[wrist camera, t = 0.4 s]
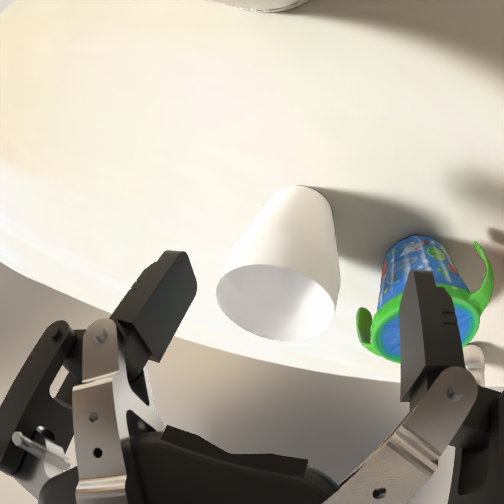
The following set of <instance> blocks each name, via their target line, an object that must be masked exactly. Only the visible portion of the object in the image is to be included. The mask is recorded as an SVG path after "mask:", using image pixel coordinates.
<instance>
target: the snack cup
mask: <svg viewBox="0 0 504 504" xmlns="http://www.w3.org/2000/svg"><path fill="white" fill-rule="evenodd" d="M473 244H474V246H475V248H476V250H477V252H478V254H479V256H480V257H481V258H482V259H483V260H484V262H485V265H486V276H485V278H484V280H483V283H482V285H481V287H480V289H479V290H478V291H477V292H474V293H470V291H469V290H468V288H467V287H466V285H465V283H464V282H463V280H462V279H461V278H460V276H459V274H458V272H457V269H456V268H455V266H454V264H453V262H452V260H451V258H450V256H449V255H448V253H447V251H446V250H445V248H444V247H443V245H442V244H441V243H439V242H437V241H436V240H435V239H432V238H430V237H427V236H418V235H410V237H408V238H406V239H404V240H401V241H400V242H398V243H397V244H396V245H395V246H394V247H393V248H392V249H391V250H389V251H388V252H387V254H386V257H385V260H384V264H383V270H382V278H381V286H380V288H381V289H380V294H379V300H378V307H377V313H376V314H375V315H374V318H373V322H372V316H371V313H370V312H369V311H368V310H367V309H366V308H363V307H361V308H359V309H358V311H357V315H356V326H357V334H358V338H359V341H360V342H361V344H362V345H363V346H364V347H365V348H367V349H368V350H369V351H371V352H373V353H374V354H376V355H378V356H382V357H384V358H385V359H387V360H390V361H393V362H396V363H401V355H400V331H399V306H400V301H401V298H402V295H403V291H404V288H405V285H406V281H407V278H408V274H409V271H410V270H411V269H414V270H429V271H432V273H433V276H434V280H435V284H436V287H444V288H445V289H446V291H447V292H448V294H449V295H450V296H451V298H452V300H453V304H454V308H455V315H456V317H457V322H458V323H457V325H458V327H459V332H460V337H461V342H462V348H463V347H465V346H466V345H467V344H468V343H469V342H470V341H471V340H472V338H473V337H474V336H475V334H476V332H477V330H478V327H479V323H480V316H481V314H482V312H483V311H484V309H485V308H486V306H487V304H488V303H489V302H490V297H491V294H492V291H493V282H494V277H493V271H492V267H491V265H490V262H489V261H488V259H487V257H486V255H485V253H484V251H483V249H482V248H481V246H480V245H479V244H478V243H477V242H476V241H475V242H474V243H473ZM371 325H372V328H371ZM370 340H371V343H370Z"/></svg>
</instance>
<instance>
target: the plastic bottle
mask: <svg viewBox="0 0 504 504" xmlns="http://www.w3.org/2000/svg"><path fill="white" fill-rule="evenodd" d="M463 354H464V361H465V366H466V370H468V371H469V372H470V373H471V374H472V375H473V376H474V378H475V379H476V382H477V384H478V385H480V386H482V387H485V381H484V368H485V360H484V354H483V352H482V349H481V348H480V347H478V346H477V345H467V346H465V347H463ZM455 448H456V447H455Z"/></svg>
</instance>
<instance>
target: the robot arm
mask: <svg viewBox="0 0 504 504" xmlns="http://www.w3.org/2000/svg"><path fill="white" fill-rule="evenodd" d="M207 1H212V2H217V3H221V4H226V5H230V6H234V7H238V8H241V9H244V10H249V11H256V12H263V13H266V12H280V11H285V10H289V9H292V8H295V7H298V6H300V5H302V4H303V3H305V2H307V1H309V0H207ZM196 291H197V281H196V278H195V275H194V272H193V269H192V266H191V263H190V260H189V257H188V255H187V253H186V252H183V251H170V250H167V251H165V252H164V253H163V254H162V255H161V257H160V258H159V259H158V261H157V262H154V263H153V264H151V265H150V266H149V267H148V268H146V269H145V270H144V271H143V272H142V274H141V275H140V276H139V278H138V279H137V282H135V283H134V284H133V286H132V287H131V290H129V291H128V293H127V294H126V295H125V297H124V298H123V300H122V301H121V302H120V304H119V305H118V307H117V308H116V309H115V311H114V312H113V314H112V315H111V317H110V318H109V319H107V318H103V319H99V320H97V321H95V322H93V323H92V324H91V325H90V326H89V327H88V328H87V329H84V330H72V328H71V327H70V326H69V324H68V323H67V322H66V321H63V320H60V321H56V322H54V323H52V324H51V325H50V326H49V327H48V328H47V329H46V330H45V332H44V333H43V335H42V336H41V338H40V339H39V341H38V343H37V344H36V346H35V347H34V349H33V351H32V352H31V354H30V355H29V357H28V358H27V360H26V362H25V363H24V365H23V367H22V368H21V370H20V372H19V373H18V375H17V377H16V379H15V380H14V382H13V384H12V386H11V388H10V390H9V391H8V393H7V395H6V397H5V399H4V401H3V403H2V404H1V406H0V470H1V471H2V472H4V473H5V474H7V475H9V476H11V477H13V478H15V479H16V480H17V481H18V482H19V483H20V484H21V485H22V486H23V487H24V488H25V489H26V490H27V491H28V492H30V493H31V494H32V495H33V496H34V497H35V498H36V499H38V504H408V503H409V502H410V501H411V500H412V499H413V498H414V496H415V495H416V494H417V493H418V492H419V491H420V490H421V488H422V487H423V486H424V485H425V484H426V482H427V481H428V480H429V479H430V477H431V476H432V475H433V473H434V472H435V470H436V468H437V467H438V459H439V457H440V456H441V454H442V453H443V451H444V450H445V449H446V447H447V446H448V445H450V446H454V447H456V450H455V459H454V468H453V475H452V482H451V489H450V494H449V500H448V504H504V391H503V392H502V393H501V392H498V391H495V390H491V389H488V388H485V387H482V386H480V385H478V384H477V382H476V379H475V378H474V376H473V375H472V374H471V373H470V372H469V371H468V370H466V366H465V361H464V354H463V348H462V342H461V337H460V332H459V327H458V325H457V323H458V322H457V317H456V315H455V308H454V304H453V300H452V298H451V296H450V295H449V294H448V292H447V291H446V289H445V288H444V287H436V284H435V280H434V276H433V273H432V271H429V270H414V269H411V270H410V271H409V274H408V278H407V281H406V285H405V288H404V291H403V295H402V298H401V301H400V306H399V331H400V355H401V396H400V401H401V402H410V412H409V413H408V414H407V416H406V417H405V418H404V419H403V420H402V421H401V423H400V424H399V425H398V426H397V427H396V428H395V430H394V431H393V432H392V433H391V434H390V435H389V436H388V437H387V438H386V440H385V441H384V442H383V443H382V444H381V445H380V446H379V447H378V448H377V449H376V450H375V451H374V452H373V453H372V454H371V455H370V456H369V457H368V458H367V459H366V460H365V461H364V462H363V463H362V464H361V465H360V466H359V467H358V468H357V469H355V470H354V471H353V472H352V473H351V474H350V475H349V476H348V477H347V478H346V479H345V480H343V481H342V482H341V483H340V484H339V485H337V483H336V482H335V481H334V480H333V479H331V478H330V477H329V476H328V475H326V474H325V473H323V472H322V471H320V470H318V469H316V468H314V467H311V466H309V465H307V463H308V460H306V459H300V458H293V457H287V456H280V455H275V454H230V453H227V452H225V451H224V450H222V449H220V448H218V447H217V446H215V445H213V444H211V443H210V442H208V441H206V440H204V439H203V438H201V437H200V436H198V435H195V434H192V433H189V432H186V431H183V430H180V429H177V428H175V427H171V426H169V425H167V426H166V428H164V425H163V423H162V421H161V419H160V417H159V415H158V414H157V411H156V409H155V405H154V400H153V395H152V390H151V385H150V380H149V375H148V370H147V367H146V363H147V361H148V360H152V361H155V362H158V363H159V362H160V360H161V358H162V356H163V355H164V353H165V351H166V349H167V347H168V345H169V343H170V342H171V340H172V338H173V336H174V334H175V332H176V330H177V328H178V327H179V325H180V323H181V321H182V319H183V317H184V316H185V314H186V312H187V310H188V308H189V306H190V305H191V303H192V301H193V299H194V297H195V295H196ZM62 365H63V366H64V367H65V368H66V369H67V370H68V371H69V373H68V375H67V377H66V379H65V380H64V382H63V384H62V386H61V388H60V389H59V392H58V393H57V395H56V397H55V398H52V397H51V396H50V393H49V389H50V385H51V384H52V382H53V380H54V378H55V377H56V375H57V373H58V371H59V370H60V368H61V366H62ZM73 435H74V439H75V450H76V459H77V466H76V467H74V468H72V469H70V470H67V469H68V468H69V467H70V461H69V459H68V458H66V457H65V453H66V451H67V448H68V446H69V444H70V442H71V439H72V437H73ZM63 470H67V471H65V472H63Z"/></svg>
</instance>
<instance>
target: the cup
mask: <svg viewBox="0 0 504 504" xmlns="http://www.w3.org/2000/svg"><path fill="white" fill-rule="evenodd" d="M339 289H340V269H339V260H338V252H337V244H336V236H335V229H334V223H333V216H332V210H331V207H330V205H329V203H328V201H327V200H326V199H325V198H324V197H323V196H322V195H321V194H320V193H319V192H317V191H315V190H314V189H311V188H309V187H305V186H288V187H284V188H282V189H280V190H278V191H277V192H275V193H274V194H273V195H272V197H271V198H270V199H269V201H268V202H267V203H266V204H265V206H264V207H263V208H262V210H261V211H260V212H259V214H258V215H257V216H256V218H255V219H254V220H253V222H252V223H251V224H250V226H249V227H248V228H247V230H246V231H245V232H244V234H243V235H242V236H241V238H240V239H239V240H238V242H237V243H236V244H235V246H234V247H233V249H232V250H231V252H230V254H229V256H228V258H227V261H226V264H225V267H224V270H223V272H222V275H221V277H220V280H219V283H218V285H217V290H216V295H217V300H218V303H219V305H220V307H221V309H222V310H223V312H224V313H225V314H226V315H227V316H228V317H229V318H230V319H231V320H232V321H233V322H234V323H236V324H237V325H239V326H240V327H242V328H243V329H245V330H247V331H249V332H251V333H253V334H256V335H258V336H261V337H265V338H268V339H273V340H279V341H301V340H307V339H311V338H313V337H316V336H318V335H320V334H322V333H323V332H325V331H326V330H327V329H328V328H329V327H330V326H331V324H332V322H333V320H334V316H335V310H336V304H337V298H338V294H339Z"/></svg>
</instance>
